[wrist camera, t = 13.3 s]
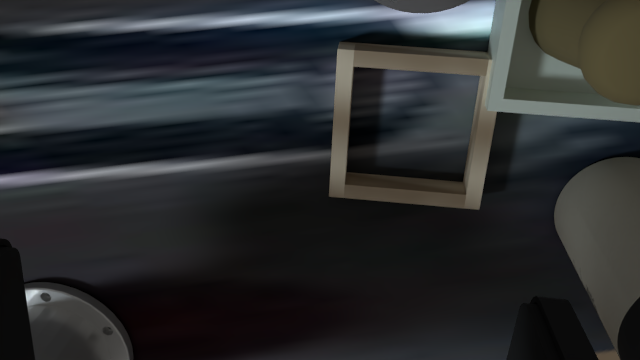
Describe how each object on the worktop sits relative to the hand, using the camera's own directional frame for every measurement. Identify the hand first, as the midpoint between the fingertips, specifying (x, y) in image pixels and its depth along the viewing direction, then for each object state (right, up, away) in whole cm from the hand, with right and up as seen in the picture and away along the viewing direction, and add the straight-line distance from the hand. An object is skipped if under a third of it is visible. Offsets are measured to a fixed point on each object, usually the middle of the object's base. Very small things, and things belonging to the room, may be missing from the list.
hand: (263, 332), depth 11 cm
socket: (+7, +7, +29) cm, 31 cm away
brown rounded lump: (+16, +13, +25) cm, 32 cm away
